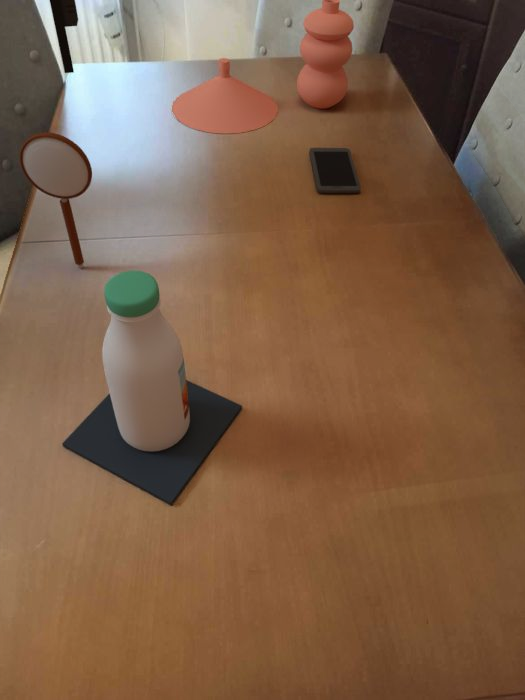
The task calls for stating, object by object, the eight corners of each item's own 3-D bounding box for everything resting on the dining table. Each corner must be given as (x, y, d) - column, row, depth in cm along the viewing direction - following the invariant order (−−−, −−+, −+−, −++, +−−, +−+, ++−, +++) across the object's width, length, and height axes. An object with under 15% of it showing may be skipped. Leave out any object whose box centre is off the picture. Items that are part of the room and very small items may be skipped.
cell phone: (348, 151, 108) (349, 147, 107) (361, 194, 99) (361, 190, 98) (308, 151, 108) (308, 147, 107) (317, 194, 98) (317, 190, 98)
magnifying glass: (112, 266, 84) (86, 132, 70) (109, 274, 83) (82, 139, 68) (52, 261, 85) (14, 126, 70) (48, 269, 83) (8, 134, 69)
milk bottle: (180, 459, 62) (162, 322, 48) (109, 448, 63) (70, 310, 48) (197, 401, 68) (186, 262, 53) (131, 392, 68) (102, 252, 54)
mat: (62, 446, 64) (61, 443, 63) (142, 362, 72) (141, 358, 72) (171, 506, 59) (171, 503, 59) (242, 408, 68) (242, 405, 67)
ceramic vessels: (175, 136, 110) (166, 26, 96) (168, 86, 124) (159, -16, 110) (358, 126, 115) (374, 20, 101) (331, 80, 129) (342, -19, 115)
